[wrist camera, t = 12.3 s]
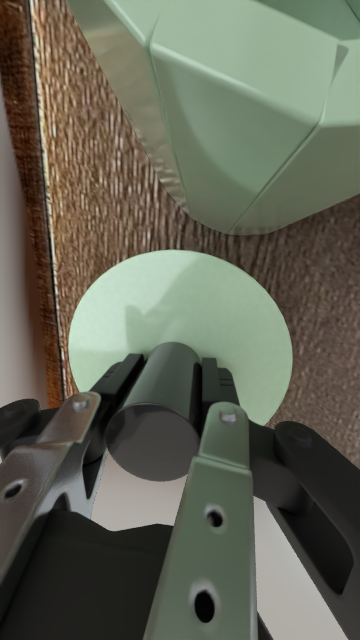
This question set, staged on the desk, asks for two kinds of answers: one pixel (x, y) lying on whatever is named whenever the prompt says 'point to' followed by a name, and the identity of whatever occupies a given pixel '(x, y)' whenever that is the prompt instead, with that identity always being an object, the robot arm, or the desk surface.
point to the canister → (238, 101)
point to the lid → (177, 351)
